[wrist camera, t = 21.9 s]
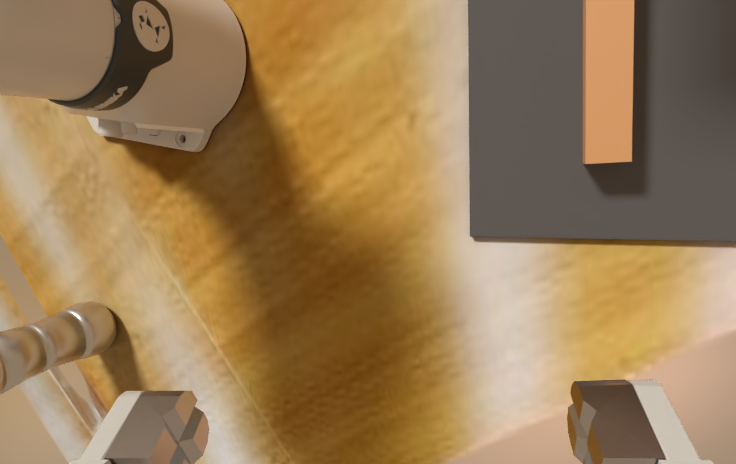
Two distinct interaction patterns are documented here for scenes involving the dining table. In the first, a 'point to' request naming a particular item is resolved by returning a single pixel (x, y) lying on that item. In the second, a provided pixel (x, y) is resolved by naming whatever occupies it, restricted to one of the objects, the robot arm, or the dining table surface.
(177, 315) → the dining table surface
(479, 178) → the rubber mat
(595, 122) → the orange square bar
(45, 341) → the plastic bottle
